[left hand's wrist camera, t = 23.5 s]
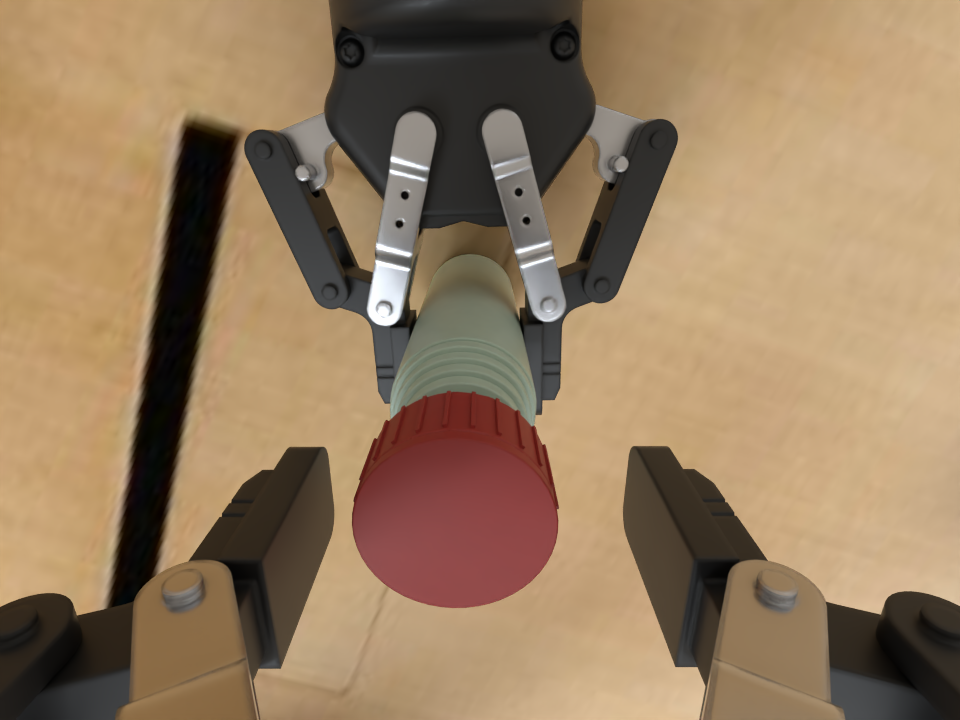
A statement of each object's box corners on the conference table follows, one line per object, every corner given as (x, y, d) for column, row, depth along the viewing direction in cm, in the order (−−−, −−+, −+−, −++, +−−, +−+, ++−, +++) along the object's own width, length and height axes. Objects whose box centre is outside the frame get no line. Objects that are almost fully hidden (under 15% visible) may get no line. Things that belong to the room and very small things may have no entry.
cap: (562, 525, 13) (576, 592, 11) (397, 555, 13) (382, 625, 11) (529, 371, 11) (540, 415, 9) (346, 408, 12) (320, 460, 10)
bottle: (474, 235, 25) (463, 375, 10) (530, 299, 27) (599, 515, 11) (411, 292, 26) (311, 500, 11) (467, 351, 28) (450, 617, 12)
